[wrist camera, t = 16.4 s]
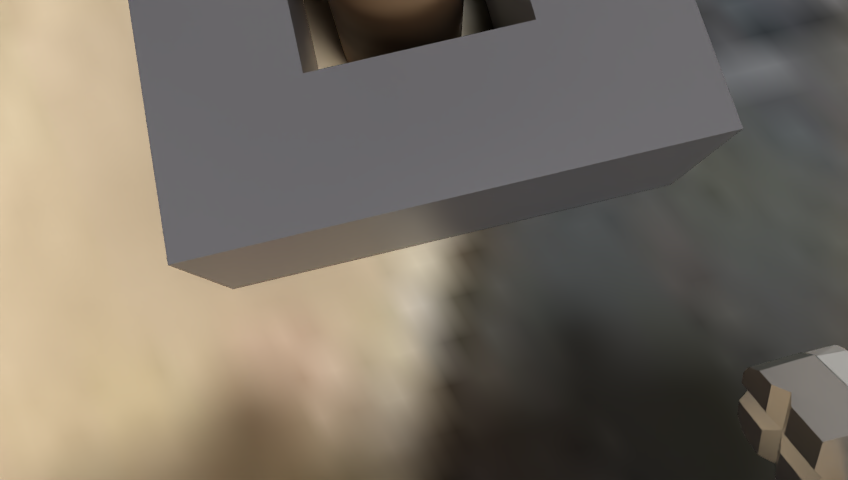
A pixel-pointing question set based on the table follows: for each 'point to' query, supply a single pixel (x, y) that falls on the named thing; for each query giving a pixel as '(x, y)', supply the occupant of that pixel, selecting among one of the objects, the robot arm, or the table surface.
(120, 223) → the table surface
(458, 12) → the peg
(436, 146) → the socket station
